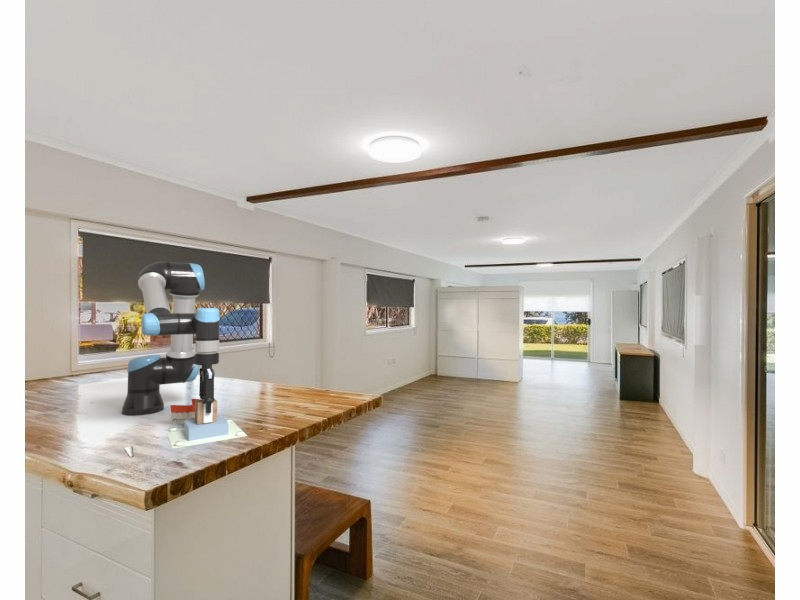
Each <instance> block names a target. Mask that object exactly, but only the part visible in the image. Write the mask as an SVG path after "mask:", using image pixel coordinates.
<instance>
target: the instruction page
mask: <svg viewBox="0 0 800 600" xmlns="http://www.w3.org/2000/svg"><path fill="white" fill-rule="evenodd" d="M133 447H134V446H133V445H132V446H127V447H124V448H123V449H124V451H125V452H126V453H127V454H128V456H129V457H130V458H133V457H134V455H135V454H134V448H133Z"/></svg>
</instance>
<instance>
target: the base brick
mask: <svg viewBox="0 0 800 600" xmlns="http://www.w3.org/2000/svg"><path fill="white" fill-rule="evenodd" d="M226 420H227V419H226V418H225V417H224V416H223V415H221V414H219V415H218V414H217V422H214V423H206V424H198V425H197V423H196V422H195V419H189V420H184V424H183V428H184V433H185V435H186V437H187V439H188V440H189V441H192V440H198V439H204V438H210V437H217V436H223V435H228V424H229V423H228V422H227V421H226Z"/></svg>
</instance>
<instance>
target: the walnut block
mask: <svg viewBox="0 0 800 600" xmlns="http://www.w3.org/2000/svg"><path fill="white" fill-rule="evenodd" d="M202 402H204V399H201V400H195V422H196V423H197V425H198V424H206V423H203V406H204V404H202ZM217 416H218V400H217V399H215V398H214V402H213V415H212V422H209V423H214V422H217Z"/></svg>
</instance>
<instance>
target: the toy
mask: <svg viewBox="0 0 800 600" xmlns="http://www.w3.org/2000/svg"><path fill="white" fill-rule="evenodd" d="M195 400H201V399H200V398H191V405H190V404H188V405H186V404H185V405H184V404H183V405H182V404H181V405H177V404H171V405H170V413H171V414H170V415H171V417H170V419H171V423H172V424H173V425H184V420H189V419H195Z"/></svg>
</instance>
